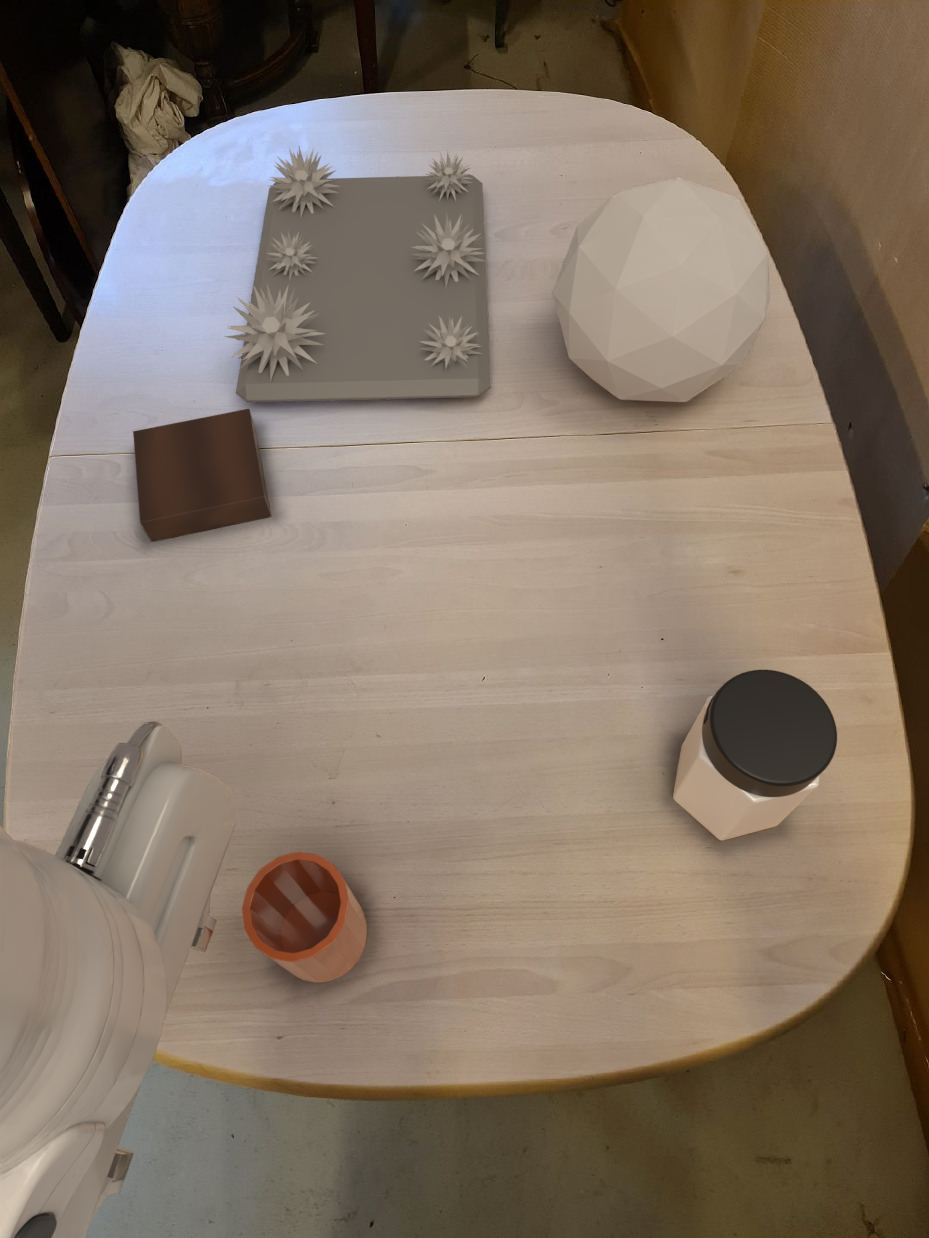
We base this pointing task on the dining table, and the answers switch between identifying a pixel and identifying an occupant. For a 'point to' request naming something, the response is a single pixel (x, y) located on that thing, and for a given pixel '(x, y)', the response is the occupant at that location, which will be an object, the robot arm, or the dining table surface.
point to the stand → (199, 475)
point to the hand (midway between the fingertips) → (155, 1042)
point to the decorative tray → (368, 288)
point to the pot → (305, 917)
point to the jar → (754, 753)
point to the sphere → (663, 291)
